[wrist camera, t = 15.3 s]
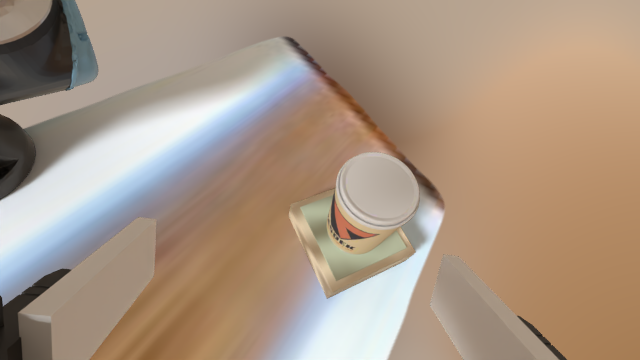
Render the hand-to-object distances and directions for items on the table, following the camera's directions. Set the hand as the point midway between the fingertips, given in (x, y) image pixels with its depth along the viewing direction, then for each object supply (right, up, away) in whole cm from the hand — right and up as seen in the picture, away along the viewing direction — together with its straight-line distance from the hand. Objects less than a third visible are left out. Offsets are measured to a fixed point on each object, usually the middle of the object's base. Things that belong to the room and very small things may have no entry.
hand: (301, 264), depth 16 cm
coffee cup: (+5, -3, +32) cm, 32 cm away
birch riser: (+5, -5, +35) cm, 36 cm away
